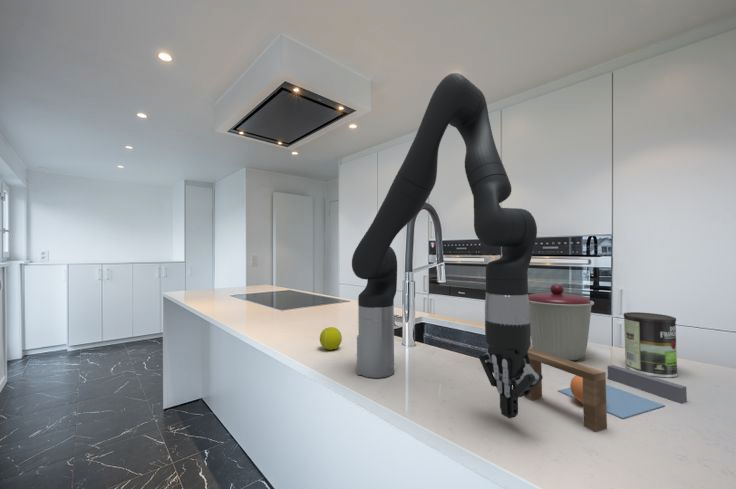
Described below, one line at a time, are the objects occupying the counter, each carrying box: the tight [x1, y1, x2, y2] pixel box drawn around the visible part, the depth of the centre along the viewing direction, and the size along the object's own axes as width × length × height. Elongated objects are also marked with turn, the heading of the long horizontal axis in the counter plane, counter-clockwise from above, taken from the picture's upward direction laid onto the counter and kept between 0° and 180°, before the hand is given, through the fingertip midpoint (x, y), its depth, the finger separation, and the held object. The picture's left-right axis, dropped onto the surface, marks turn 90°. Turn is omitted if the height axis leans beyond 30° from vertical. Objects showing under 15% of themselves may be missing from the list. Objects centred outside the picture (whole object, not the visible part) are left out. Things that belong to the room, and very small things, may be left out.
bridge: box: [523, 348, 608, 433], centre depth 63 cm, size 3×15×10 cm, turn 22°
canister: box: [528, 283, 595, 362], centre depth 96 cm, size 18×18×21 cm
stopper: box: [607, 364, 688, 404], centre depth 72 cm, size 2×14×3 cm, turn 22°
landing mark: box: [557, 384, 666, 420], centre depth 68 cm, size 13×13×1 cm
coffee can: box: [623, 311, 678, 379], centre depth 84 cm, size 10×10×14 cm
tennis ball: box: [319, 326, 343, 351], centre depth 104 cm, size 7×7×7 cm
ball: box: [569, 375, 583, 404], centre depth 65 cm, size 6×6×6 cm
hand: (508, 415), depth 58 cm, fingers closed
